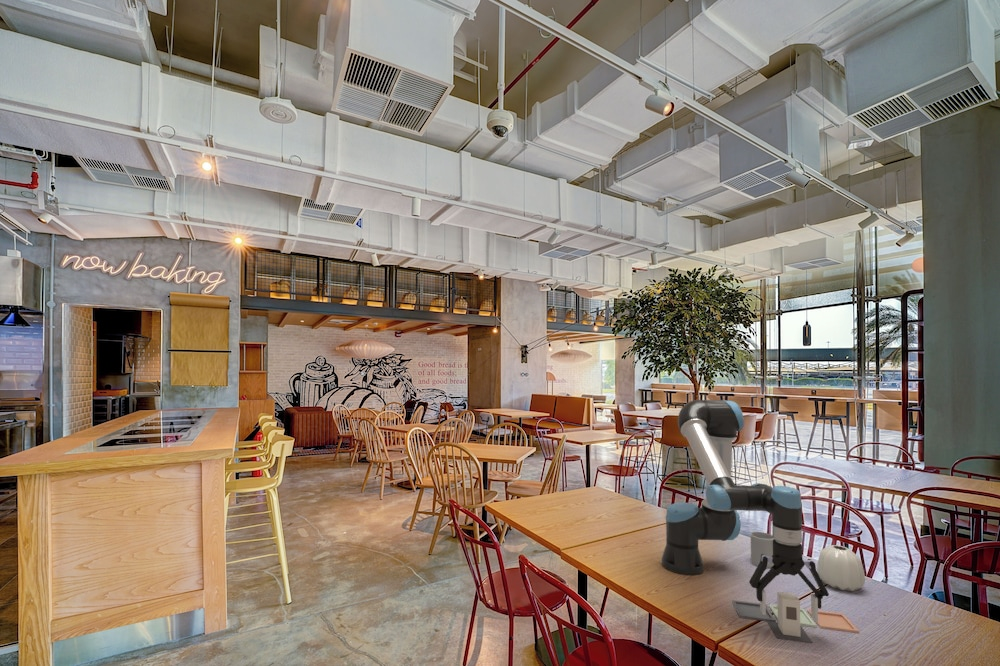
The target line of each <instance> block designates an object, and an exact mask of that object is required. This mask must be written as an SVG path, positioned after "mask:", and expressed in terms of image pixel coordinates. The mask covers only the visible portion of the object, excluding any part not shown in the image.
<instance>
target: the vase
mask: <svg viewBox="0 0 1000 666" xmlns="http://www.w3.org/2000/svg"><path fill="white" fill-rule="evenodd" d="M817 559H818V560H817V565H816V566H817V567H816V571H817V573H818V575H819V577H820V578H821V580H822V582H823V583H824V584H826V585H828V586H831V588H834V589H838V590H840V591H848V592H853V591H858V590H860V589H861V588H862V587H863V586H864V585H865V583H866V576H865V570H864V567H863V566H864V565H863V563H862V560H861V558H859V556H858V555H857V554H856V553H855V552H854V551H852V550H851V549H849V548H848V547H846V546H842V545H837V544H836V545H834V544H832V545H828V546H826V547H824V548H822V549H821V551H820V553H819V557H818V558H817Z"/></svg>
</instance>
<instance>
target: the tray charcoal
mask: <svg viewBox="0 0 1000 666" xmlns="http://www.w3.org/2000/svg"><path fill="white" fill-rule="evenodd" d="M731 603H732V605H733V607H734V609H735V611H736V613H737V615H738V616H739V618H740V619H747V620H753V621H754V620H755V621H763V622H767V621H770V622H777V619H776V617H775V616H774V614H773V612H772V611H771V609H770V608H769V606H767V605H766V615H763V614H762V612H761V610H760V602H751V601H742V600H736V599H735V600H734V599H732V600H731Z"/></svg>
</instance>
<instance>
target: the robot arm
mask: <svg viewBox="0 0 1000 666" xmlns="http://www.w3.org/2000/svg"><path fill="white" fill-rule="evenodd" d="M744 425H745V419H744V414H743V411H742V409H741V407H740V406H739V404H738V403H737V402H735V401H733V400H725V399H695V400H690V401H688V402H686V404H684V405H683V406H682V407H681V408H680V411H679V413H678V417H677V426H678V428H679V431H680V434H681V436H683V438H686V440H687V442H688V444H689V446H690V448H691V451H692V452H693V454H694V457H695V459H696V461H697V463H698V466H699V468H700V469H701V471H702V474H703V475H704V478H705V481H706V485H705V487H706V491H705V498H704V499H703V500H702V501H701V507H698V505H697V504H696V503H692V502H683V501H682V502H676V503H675V502H674V503H672V504H670V505H668V507H667V508H666V513H665V520H666V521H665V523H666V524H665V527H666V528H665V529H666V530H665V531H666V532H665V533H666V535H665V536H666V537H665V538H666V539H665V541H666V543H665V547H664V549H663V553H662V556H661V565H662V567H663V568H664V569H667V570H668V571H670V572H673V573H675V574H680V575H686V576H687V575H688V576H689V575H692V576H694V575H699V574H701V573H704V562H703V559H702V555H701V552H700V549H699V541H722V542H725V541H733V540H735V539H736V538H738V536H739V535H740V532H741V526H742V525H741V524H742V521H741V519H740V518H741V516H740V514H739V511H748V512H749V511H752V512H753V511H754V512H757V511H761V512H762V511H763V512H766V513H769V514H770V515H771V520H772V522H771V523H772V524H771V526H772V527H771V528H772V530H771V531H772V534H771V535H772V536H773V538H774V540H773V555H772V557H768V556H765V555H764V554H762V555H761V560H760V563H759V565H758V566H756V569H755V570H754V572H753V574H752V576H751V577H750V579H749V581H748V583H749V585H750V586H751V588H754V589H755V590H756V594H755V595H756V599H757V601H758V602H759V603H760V610H761V612H762V614H763V615H766V606H767V604H766V602H767V601H766V590H765V588H766V587H767V586H768V585H769V584H771V582H772V581H773V580H774V579H775V578H776V577H777V576H780V574H782V575H784V576H785V575H786V576H787V575H790V576H794V577H795V576H796V575H797V574H798V576H799V577H800V578H801V579H802V581H803V582H804V583H805V584H806V585H807V587H808V588H809V589H810V590H811V591H812V592H813V593H810V603H811V604H810V610H811V616H812V617H811V616H810V617H811V619H812V620H813V621H814V620H815V621H818V611H819V609H821V608H822V599H823V598H824V597H829V596H830V594H829V592H828V590H827V587H826V586H825V583H824V581H823V580H822V579H821V578H820V577H819V575H818V572H817V567H816V566H817V565H816V563H815V562H814V561H813V559H812V558H808V559H805V560H804V559H803V544H802V543H803V532H802V530H803V528H802V527H803V526H802V525H803V524H802V523H803V521H802V520H803V519H802V517H803V515H802V514H803V511H802V510H803V509H802V508H803V507H802V506H803V503H802V496H801V495H802V493H801V491H800V490H799V489H797V488H795V487H790V486H786V485H774V486H773V487H772V486H770V485H768V484H766V483H762V482H755V483H753V484H751V485H737V484H735V483H734V480H733V479H732V459H733V458H732V455H733V454H732V453H733V451H732V450H733V440H735V439H736V438H737V433H738V432H740V431H742V430H743V429H744ZM770 562H773V564H774V565H773V566H772V567H771V568H769V569H770V570H768V571H767V572H766V573H765V571H766V569H767V568H766V567H767V564H769V563H770ZM804 566H805V567H806V568H807V569H808V570H809V572H810V574H811V575H812V577H813V579H814V581H815V583H816V585H817V586H818V588H819V589H817V588H816V587H815V585H814V584H813V582H811V581H810V580H809V579H808V577H807V576H806V575H805V574H804V573H803V571H802V569H803V568H804ZM764 573H765V574H764ZM815 621H814V622H815Z"/></svg>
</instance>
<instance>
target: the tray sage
mask: <svg viewBox="0 0 1000 666" xmlns="http://www.w3.org/2000/svg"><path fill="white" fill-rule="evenodd" d="M768 608H769V610H770V611H771V613H772V615H773V616H774V618H775V619H776V621H778V605H775V604H768ZM800 626H801V627H806V628H816V629H817V628H818V627H817V626H818V624H817V623H816V622H815V621H814V619H813V618H812V617H811V616H810V614H809V613H808V612H807V611H806V610H805V609H804V608H800Z"/></svg>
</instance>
